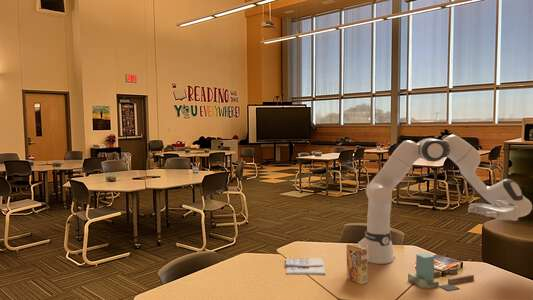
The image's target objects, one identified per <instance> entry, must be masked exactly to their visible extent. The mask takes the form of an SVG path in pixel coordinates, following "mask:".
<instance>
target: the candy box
mask: <svg viewBox="0 0 533 300" xmlns="http://www.w3.org/2000/svg"><path fill="white" fill-rule="evenodd" d="M346 279H348V280H350V281H353V282H354V283H357V284H359V285H365V284H367V283H368V262H367V248H365V247H362V246H359V245H358V244H355V243H349V244H346Z"/></svg>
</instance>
